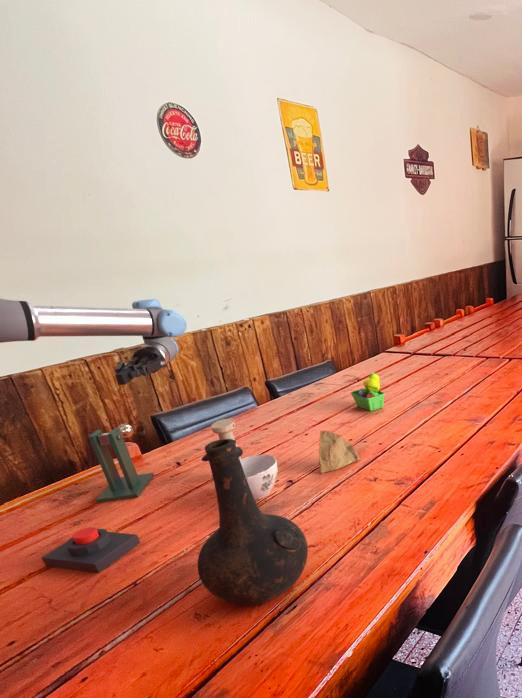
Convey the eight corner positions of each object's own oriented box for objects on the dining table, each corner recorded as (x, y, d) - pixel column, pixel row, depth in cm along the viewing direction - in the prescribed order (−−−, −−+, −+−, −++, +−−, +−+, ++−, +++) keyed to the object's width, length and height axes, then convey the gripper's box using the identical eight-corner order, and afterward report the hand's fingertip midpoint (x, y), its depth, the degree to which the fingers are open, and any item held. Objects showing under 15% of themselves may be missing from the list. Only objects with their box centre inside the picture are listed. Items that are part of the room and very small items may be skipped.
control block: (45, 566, 100) (36, 549, 99) (90, 537, 109) (83, 522, 107) (98, 573, 98) (90, 556, 96) (140, 543, 106) (134, 527, 105)
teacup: (244, 482, 129) (235, 454, 125) (292, 482, 128) (285, 453, 125) (212, 514, 116) (202, 483, 112) (265, 513, 115) (257, 482, 111)
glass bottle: (283, 625, 82) (238, 471, 70) (185, 616, 85) (126, 467, 73) (331, 558, 98) (301, 423, 86) (247, 553, 101) (206, 421, 89)
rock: (361, 445, 141) (324, 444, 140) (359, 429, 133) (319, 427, 132) (358, 481, 136) (319, 479, 135) (355, 466, 128) (314, 465, 127)
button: (70, 544, 101) (66, 537, 100) (88, 533, 104) (85, 526, 103) (86, 546, 100) (83, 539, 99) (104, 535, 103) (101, 527, 102)
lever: (122, 436, 134) (118, 423, 133) (137, 435, 135) (133, 421, 134) (97, 448, 122) (93, 433, 121) (114, 446, 122) (110, 431, 121)
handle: (224, 483, 129) (207, 429, 122) (233, 472, 135) (217, 419, 128) (243, 482, 129) (228, 427, 123) (251, 470, 135) (236, 418, 128)
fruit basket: (351, 406, 178) (346, 374, 173) (373, 399, 184) (368, 369, 179) (369, 413, 171) (364, 380, 166) (391, 406, 176) (386, 374, 171)
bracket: (117, 481, 133) (94, 425, 126) (154, 476, 135) (133, 420, 128) (97, 504, 123) (70, 444, 116) (138, 498, 124) (114, 438, 118)
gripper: (178, 368, 157) (152, 390, 136) (131, 372, 155) (98, 396, 134) (170, 343, 154) (142, 363, 133) (122, 348, 151) (86, 368, 131)
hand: (120, 379), depth 134 cm, fingers closed
